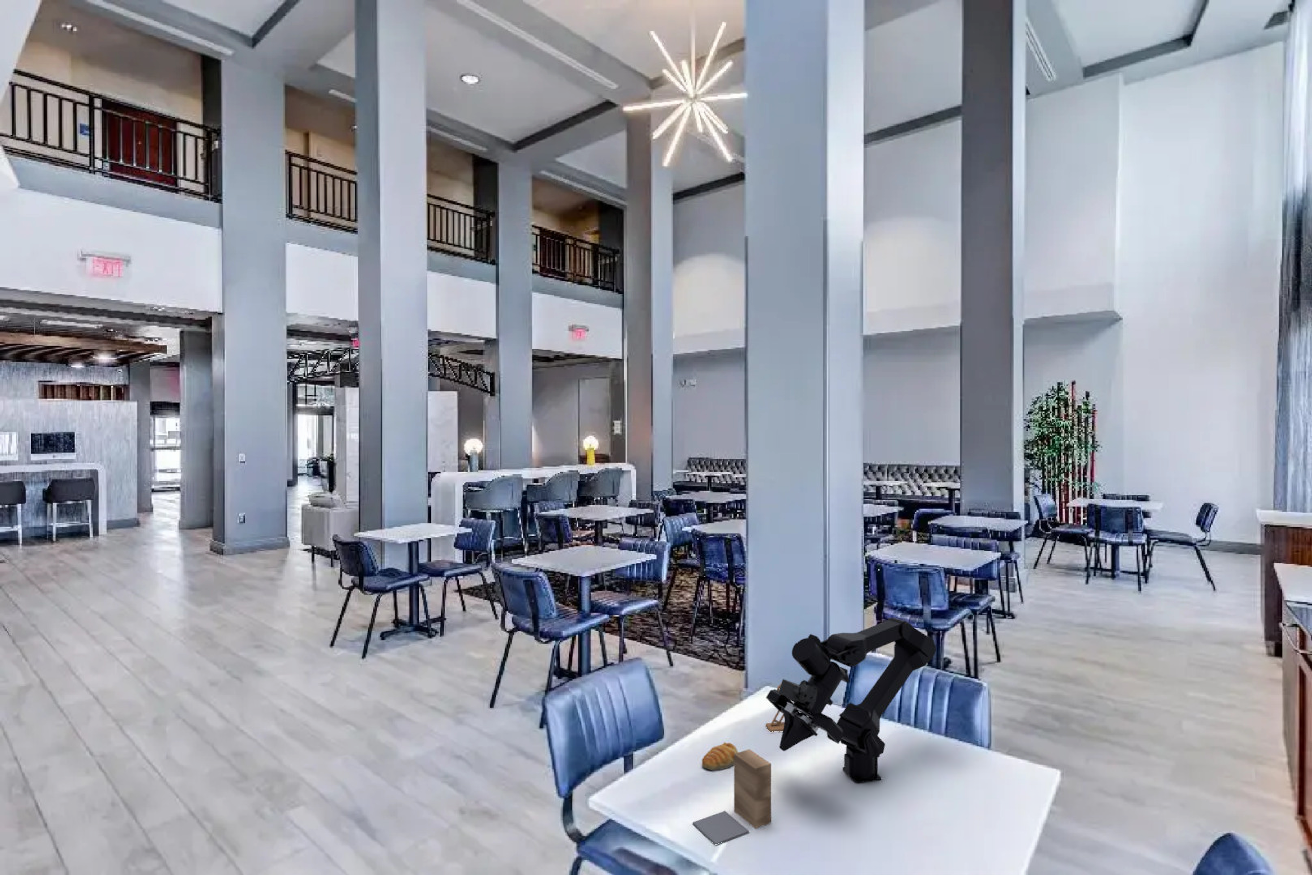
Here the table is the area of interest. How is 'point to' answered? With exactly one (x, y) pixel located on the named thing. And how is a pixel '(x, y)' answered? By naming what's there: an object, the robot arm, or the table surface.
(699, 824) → the mat
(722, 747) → the pastry
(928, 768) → the table surface
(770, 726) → the gingerbread man figurine
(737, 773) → the block
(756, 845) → the table surface
